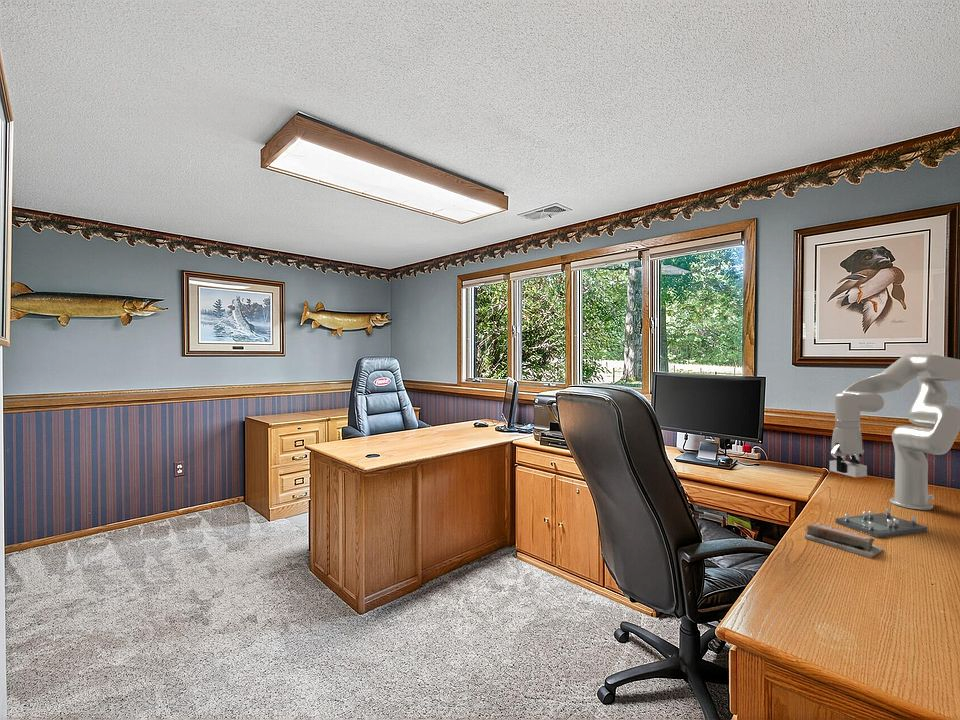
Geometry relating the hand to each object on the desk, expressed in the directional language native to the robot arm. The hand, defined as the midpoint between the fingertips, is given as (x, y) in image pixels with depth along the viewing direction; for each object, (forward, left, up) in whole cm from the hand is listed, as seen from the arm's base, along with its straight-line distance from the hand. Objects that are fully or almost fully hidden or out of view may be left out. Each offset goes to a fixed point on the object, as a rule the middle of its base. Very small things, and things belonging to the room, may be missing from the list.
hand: (847, 471), depth 176 cm
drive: (0, 0, -1) cm, 1 cm away
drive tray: (+6, +16, -15) cm, 23 cm away
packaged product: (+33, +24, -16) cm, 43 cm away
